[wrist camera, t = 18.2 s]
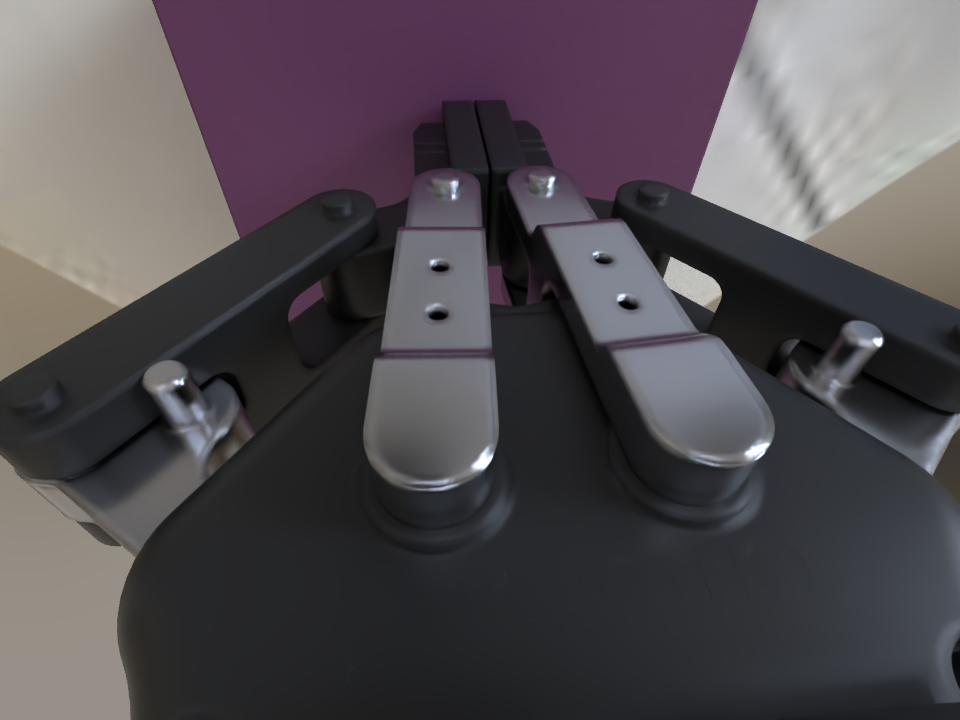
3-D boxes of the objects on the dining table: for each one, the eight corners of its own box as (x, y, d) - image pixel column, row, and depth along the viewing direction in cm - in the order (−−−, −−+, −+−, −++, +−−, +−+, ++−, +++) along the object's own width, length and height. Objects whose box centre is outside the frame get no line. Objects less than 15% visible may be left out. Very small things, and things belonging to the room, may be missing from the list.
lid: (137, -83, 10) (122, -74, 10) (765, -76, 11) (783, -69, 11) (310, 408, 21) (307, 424, 21) (613, 388, 23) (618, 403, 22)
